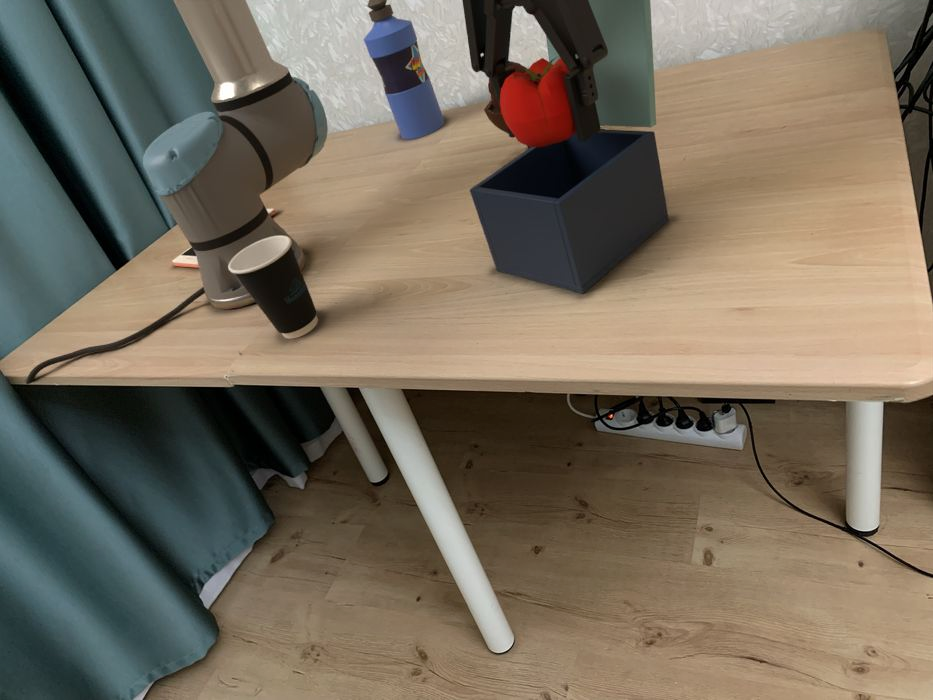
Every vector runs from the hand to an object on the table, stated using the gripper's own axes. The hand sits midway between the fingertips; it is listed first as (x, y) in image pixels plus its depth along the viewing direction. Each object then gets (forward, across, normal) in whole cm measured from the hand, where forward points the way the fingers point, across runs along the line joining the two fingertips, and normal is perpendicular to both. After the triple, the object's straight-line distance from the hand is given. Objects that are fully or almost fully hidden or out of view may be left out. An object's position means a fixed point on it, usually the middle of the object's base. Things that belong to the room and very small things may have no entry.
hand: (553, 133), depth 74 cm
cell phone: (+14, +67, +18) cm, 71 cm away
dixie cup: (+14, +24, +27) cm, 39 cm away
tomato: (+1, 0, 0) cm, 1 cm away
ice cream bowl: (+14, +25, -19) cm, 34 cm away
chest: (+14, 0, 0) cm, 14 cm away
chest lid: (-6, 0, -9) cm, 10 cm away
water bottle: (+14, +63, -26) cm, 70 cm away
